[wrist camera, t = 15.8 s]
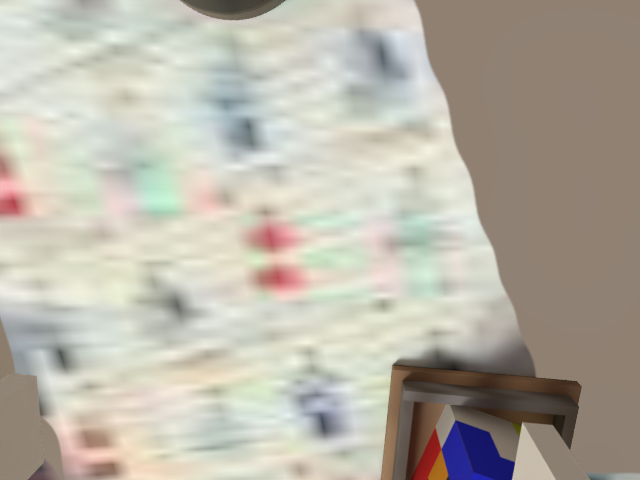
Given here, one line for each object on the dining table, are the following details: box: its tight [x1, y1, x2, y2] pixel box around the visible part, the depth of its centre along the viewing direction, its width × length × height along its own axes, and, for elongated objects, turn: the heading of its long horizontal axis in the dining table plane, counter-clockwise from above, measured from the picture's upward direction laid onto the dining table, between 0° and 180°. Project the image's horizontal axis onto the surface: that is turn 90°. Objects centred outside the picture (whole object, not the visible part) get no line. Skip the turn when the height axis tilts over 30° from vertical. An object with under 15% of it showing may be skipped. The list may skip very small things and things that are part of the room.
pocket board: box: [381, 365, 581, 480], centre depth 46 cm, size 18×18×3 cm
